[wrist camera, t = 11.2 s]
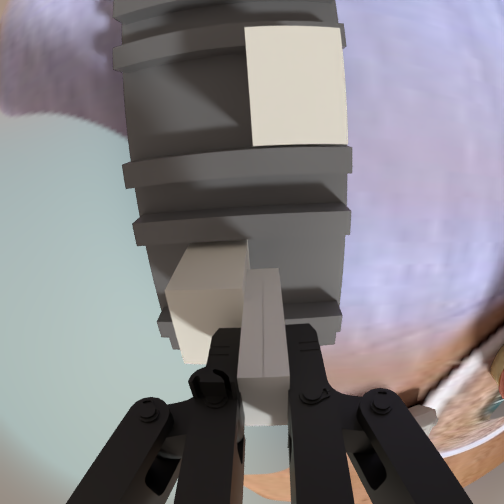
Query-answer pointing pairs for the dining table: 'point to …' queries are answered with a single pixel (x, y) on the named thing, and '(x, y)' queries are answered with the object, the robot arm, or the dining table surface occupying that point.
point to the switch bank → (227, 153)
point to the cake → (499, 370)
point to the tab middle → (296, 85)
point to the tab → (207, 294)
